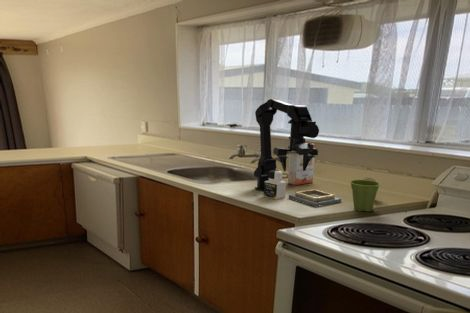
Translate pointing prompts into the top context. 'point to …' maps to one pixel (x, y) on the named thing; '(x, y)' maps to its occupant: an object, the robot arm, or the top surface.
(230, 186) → the top surface
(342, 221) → the top surface
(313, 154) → the robot arm
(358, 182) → the plant pot
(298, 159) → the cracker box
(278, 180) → the medicine bottle
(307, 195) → the picture frame
